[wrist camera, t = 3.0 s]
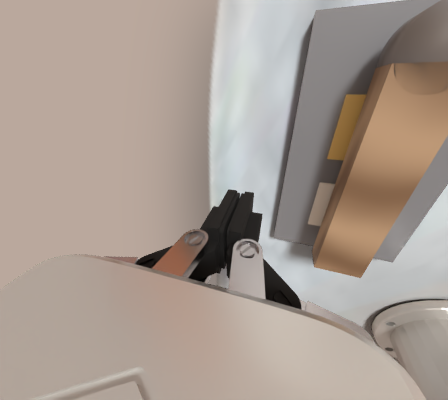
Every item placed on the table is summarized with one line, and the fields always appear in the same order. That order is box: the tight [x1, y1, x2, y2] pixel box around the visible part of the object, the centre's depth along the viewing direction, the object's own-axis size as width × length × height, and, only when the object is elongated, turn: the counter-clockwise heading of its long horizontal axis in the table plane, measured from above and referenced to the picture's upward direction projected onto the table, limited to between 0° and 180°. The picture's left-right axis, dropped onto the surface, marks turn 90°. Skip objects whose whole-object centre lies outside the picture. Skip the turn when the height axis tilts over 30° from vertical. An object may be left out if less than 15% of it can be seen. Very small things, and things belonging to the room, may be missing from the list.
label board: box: [274, 0, 448, 262], centre depth 14 cm, size 18×11×2 cm, turn 1°
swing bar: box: [312, 0, 448, 278], centre depth 12 cm, size 17×4×2 cm, turn 1°
